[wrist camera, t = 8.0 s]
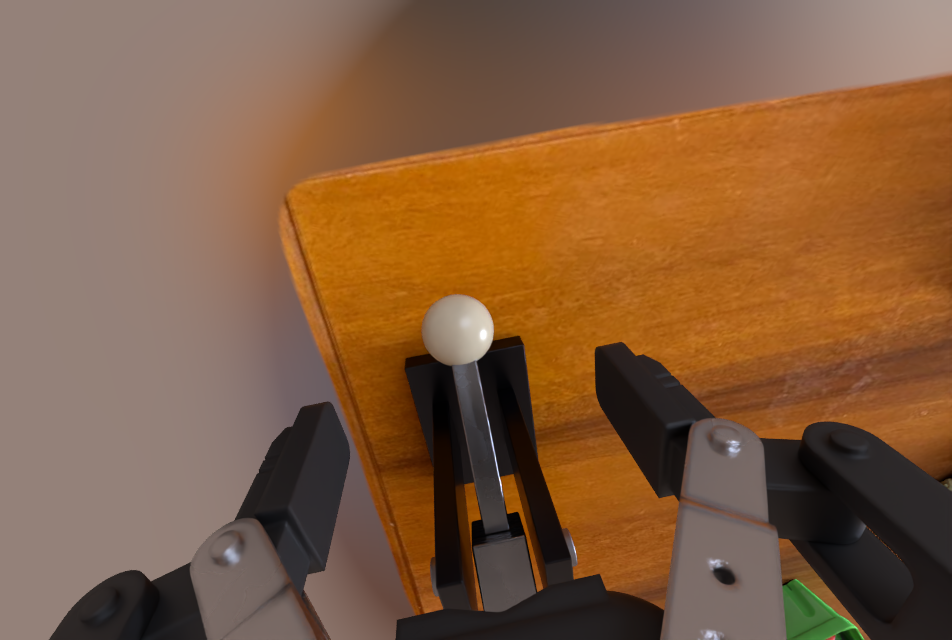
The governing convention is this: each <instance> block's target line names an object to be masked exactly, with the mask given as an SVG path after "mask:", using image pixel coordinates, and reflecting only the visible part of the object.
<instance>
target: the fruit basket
mask: <svg viewBox="0 0 952 640" xmlns="http://www.w3.org/2000/svg"><path fill="white" fill-rule="evenodd" d="M782 588H783V600H784V612H785V623H786V635H787V640H864V639H863V637H862V636H861V634H860V632H859V631H858V629H857V627H856V626H854V625H853V624H852V623H851V622H849V621H848V620H847V619H846V618H844V617H842V616H840V615H839V614H837V613H836V612H835V611H834V610H833V609H831V608H830V607H829V606H828V605H827V604H825V603H824V602H823V601H822V600H821V599H819V598H818V597H817V596H816V595H815V594H814V593H812V592H811V591H810V590H809V589H808V588H806V587H805V586H804V585H803V584H802V583H800V582H799V581H798V580H796V579H794V580H792V581H790V582H789V583H788V584H787V585H784V586H782Z"/></svg>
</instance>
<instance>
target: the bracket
mask: <svg viewBox="0 0 952 640" xmlns="http://www.w3.org/2000/svg"><path fill="white" fill-rule="evenodd" d="M477 365H478V370H479V375H480V380H481V385H482V390H483V395H484V400H485V405H486V410H487V415H488V420H489V425H490V430H491V435H492V440H493V445H494V450H495V455H496V460H497V465H498V470H499V476H500V477H501V476H506V475H510V474H514V477H515V481H516V485H517V489H518V492H519V496H520V500H521V504H522V508H523V512H524V516H525V519H526V523H527V527H528V531H529V535H530V539H531V543H532V547H533V550H534V554H535V558H536V562H537V566H538V570H539V574H540V577H541V581H542V585H543V589H544V588H546V587H548V586H550V585H553V584H557V583H562V582H566V581H571V580H574V579H573V567H572V566H576V565H577V556H576V551H575V547H574V544H573V540H572V537H571V535H570V532H569V530H568V529H567V528H565V529H562V528H561V525H560V522H559V519H558V516H557V514H556V511H555V508H554V505H553V502H552V499H551V496H550V493H549V490H548V488H547V485H546V482H545V479H544V476H543V473H542V470H541V467H540V464H539V461H538V454H537V446H536V438H535V430H534V422H533V414H532V406H531V397H530V389H529V381H528V373H527V365H526V357H525V349H524V344H523V342H522V340H521V338H520V336H515V337H510V338H505V339H500V340H495V341H492V343H491V345H490V347H489V349H488V351H487V352H486V353H485V355H484V356H483V357H482V358H480V359H479V360H478V361H477ZM405 372H406V375H407V379H408V382H409V385H410V389H411V392H412V396H413V399H414V403H415V406H416V410H417V413H418V416H419V420H420V423H421V427H422V430H423V434H424V437H425V441H426V444H427V447H428V451H429V454H430V458H431V461H432V465H433V469H434V519H435V557H432V558H431V564H430V571H431V582H432V588H433V592H434V594H435V596H439V598H440V600H441V603H442V606H443V609H461V610H475V611H478V607H477V598H476V589H475V579H474V570H473V561H472V552H471V542H470V533H469V524H468V515H467V505H466V496H465V487H464V484H468V483H473V482H474V479H473V474H472V469H471V463H470V458H469V453H468V448H467V443H466V438H465V432H464V427H463V422H462V417H461V412H460V407H459V401H458V396H457V391H456V386H455V381H454V376H453V370H452V366H449V365H446V364H443V363H441V362H439V361H438V360H436V359H435V358H434V357H433V356H432V355H431V354H425V355H420V356H415V357H410V358H406V361H405Z"/></svg>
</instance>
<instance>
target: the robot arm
mask: <svg viewBox="0 0 952 640" xmlns="http://www.w3.org/2000/svg"><path fill="white" fill-rule="evenodd" d="M595 383H596V394H597V398H598V401H599V404H600V406H601V408H602V410H603V411H604V413H605V414H606V416H607V418H608V419H609V421H610V422H611V424H612V425H613V427H614V429H615V430H616V432H617V433H618V435H619V436H620V438H621V440H622V441H623V443H624V444H625V446H626V447H627V449H628V450H629V452H630V454H631V455H632V457H633V458H634V460H635V461H636V463H637V465H638V466H639V468H640V469H641V471H642V472H643V474H644V476H645V477H646V479H647V480H648V482H649V483H650V485H651V486H652V488H653V490H654V491H655V493H656V494H657V496H658V497H659V498H662V497H666V496H671V495H675V496H676V498H677V499H678V501H679V508H678V515H677V522H676V529H675V537H674V544H673V551H672V558H671V566H670V573H669V580H668V587H667V594H666V602H665V609H664V610H663V609H661V608H659V607H658V606H656V605H654V604H652V603H650V602H648V601H645V600H643V599H641V598H638V597H635V596H632V595H629V594H625V593H620V592H615V591H606V589H605V586H604V584H603V581H602V579H601V576H600V574H597V575H593V576H588V577H584V578H579V579H575V580H571V581H566V582H562V583H557V584H553V585H550V586H548V587H546V588H544V589H543V590H541V591H539V592H537V593H536V594H534V595H532V596H530V597H528V598H527V599H525V600H523V601H521V602H520V603H518V604H516V605H514V606H512V607H511V608H509V609H507V610H505V611H502V612H489V611H475V610H461V609H443V610H439V611H434V612H430V613H425V614H421V615H417V616H412V617H408V618H404V619H399V620H397V630H396V640H787V635H786V623H785V612H784V600H783V588H782V577H781V565H780V553H779V541H778V538H782V539H789V540H790V541H791V542H792V544H793V545H794V546H795V547H796V549H797V550H798V551H799V552H800V553H801V555H802V556H803V557H804V558H805V560H806V561H807V562H808V563H809V564H810V566H811V567H812V568H813V569H814V571H815V572H816V573H817V574H818V575H819V577H820V578H821V579H822V580H823V582H824V583H825V584H826V585H827V586H828V588H829V589H830V590H831V591H832V593H833V594H834V595H835V596H836V597H837V599H838V600H839V601H840V602H841V603H842V605H843V606H844V607H845V608H846V610H847V611H848V612H849V613H850V614H851V616H852V617H853V618H854V619H855V621H856V622H857V623H858V624H859V625H860V627H861V628H862V629H863V630H864V632H865V633H866V634H867V635H868V636H869V638H870V639H871V640H952V491H951V490H949V489H948V488H947V487H945V486H944V485H942V484H941V483H940V482H938V481H937V480H936V479H934V478H933V477H931V476H930V475H929V474H927V473H926V472H925V471H923V470H922V469H920V468H919V467H918V466H916V465H915V464H914V463H912V462H911V461H910V460H908V459H907V458H905V457H904V456H903V455H901V454H900V453H899V452H897V451H896V450H894V449H893V448H892V447H890V446H889V445H888V444H886V443H885V442H883V441H882V440H881V439H879V438H878V437H876V436H874V435H873V434H871V433H869V432H867V431H865V430H862V429H860V428H857V427H854V426H851V425H847V424H843V423H838V422H817V423H813V424H811V425H809V426H808V427H806V429H805V430H804V433H803V436H802V440H788V439H766V438H759V437H758V436H757V435H756V434H755V433H754V432H752V431H751V430H750V429H748V428H747V427H745V426H743V425H741V424H739V423H736V422H733V421H730V420H726V419H720V418H715V417H714V416H713V415H712V414H711V413H710V412H709V411H708V410H707V409H706V408H705V407H704V406H703V405H702V404H701V403H700V402H699V401H698V400H697V399H696V398H695V397H694V396H693V395H692V394H691V393H690V392H689V391H688V390H687V389H686V388H685V387H684V386H683V385H680V382H679V381H678V380H677V379H676V378H675V377H674V376H671V373H670V372H669V371H668V370H667V369H666V368H665V367H664V366H663V365H662V364H661V363H660V362H658V361H655V360H653V359H651V358H649V357H647V356H645V355H638V356H635V355H634V354H633V352H632V351H631V350H630V349H629V348H628V347H627V346H626V345H625V344H624V343H622V342H618V343H614V344H609V345H604V346H599V347H596V349H595ZM349 459H350V450H349V444H348V440H347V438H346V435H345V433H344V430H343V428H342V426H341V423H340V421H339V419H338V416H337V414H336V412H335V409H334V407H333V405H332V404H331V403H330V402H323V403H318V404H314V405H309V406H304V407H302V408H301V409H300V411H299V413H298V416H297V418H296V420H295V422H294V425H293V426H292V427H287V428H285V429H284V430H283V431H282V433H281V434H280V435H279V436H278V437H277V438H276V439H275V440H274V441H273V442H272V444H271V446H270V448H269V450H268V453H267V455H266V456H265V461H263V463H262V465H261V467H260V469H259V473H258V474H257V475H256V477H255V479H254V481H253V483H252V485H251V487H250V489H249V492H248V494H247V496H246V498H245V500H244V502H243V504H242V506H241V508H240V510H239V512H238V514H237V516H236V518H235V520H234V521H233V522H230V523H228V524H226V525H225V526H223V527H221V528H220V529H218V530H217V531H216V532H214V533H213V534H212V535H211V536H210V537H209V538H208V539H206V541H205V542H204V543H203V544H202V545H201V546H200V547H199V549H198V550H197V552H196V554H195V555H194V557H193V559H192V562H190V563H188V564H186V565H184V566H182V567H180V568H178V569H176V570H174V571H172V572H170V573H168V574H165V575H163V576H162V577H159V578H157V579H155V580H153V581H150V580H149V579H148V578H147V577H146V576H145V575H144V574H143V573H142V572H140V571H137V570H130V571H125V572H122V573H119V574H117V575H114V576H112V577H110V578H108V579H107V580H105V581H103V582H102V583H100V584H99V585H97V586H96V587H94V588H93V589H92V590H90V591H89V592H88V593H87V594H86V595H85V596H83V597H82V598H81V599H80V600H79V601H78V602H77V603H76V604H75V605H74V606H73V607H72V609H71V610H70V611H69V612H68V613H67V615H66V616H65V617H64V619H63V620H62V622H61V623H60V624H59V626H58V627H57V629H56V631H55V632H54V633H53V635H52V636H51V638H50V639H49V640H331V639H330V637H329V635H328V633H327V632H326V630H325V628H324V626H323V624H322V622H321V620H320V619H319V617H318V615H317V613H316V611H315V609H314V607H313V606H312V604H311V602H310V600H309V598H308V596H307V595H306V593H305V591H304V590H303V589H304V585H305V581H306V577H307V574H311V573H316V572H321V571H324V570H325V567H326V562H327V557H328V554H329V549H330V545H331V540H332V536H333V531H334V527H335V522H336V518H337V514H338V509H339V505H340V500H341V496H342V491H343V487H344V482H345V478H346V474H347V469H348V465H349ZM866 525H867V526H868V527H869V528H870V529H871V530H872V531H873V532H874V533H875V534H876V535H877V536H878V537H879V538H880V539H881V540H882V541H883V542H884V543H885V544H886V545H887V546H888V547H889V548H890V549H891V550H893V551H894V552H895V553H896V554H897V555H898V556H899V557H900V558H901V560H902V561H903V562H904V563H905V564H904V563H903V562H902V561H901V560H900V559H899V558H898V557H897V556H896V555H895V554H894V553H893V552H892V551H891V550H890V549H888V548H887V547H886V546H885V545H884V544H883V543H882V542H881V541H880V540H879V539H878V538H877V537H876V536H875V535H874V534H873V533H872V532H871V531H870V530H869V529H868V528H867V527H866Z"/></svg>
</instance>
